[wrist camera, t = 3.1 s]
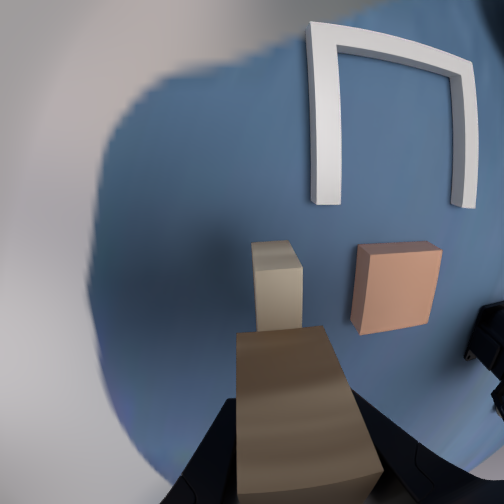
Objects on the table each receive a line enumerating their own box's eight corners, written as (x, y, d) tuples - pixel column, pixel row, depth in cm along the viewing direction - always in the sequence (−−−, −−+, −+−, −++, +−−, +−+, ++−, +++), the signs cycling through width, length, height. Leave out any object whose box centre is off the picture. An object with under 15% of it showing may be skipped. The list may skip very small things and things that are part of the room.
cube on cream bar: (232, 244, 12) (222, 435, 4) (306, 239, 12) (416, 404, 4) (245, 382, 15) (252, 544, 6) (302, 377, 15) (341, 532, 6)
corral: (460, 65, 15) (472, 62, 14) (463, 204, 19) (475, 208, 18) (305, 30, 15) (310, 21, 13) (310, 200, 19) (316, 204, 17)
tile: (424, 239, 20) (442, 250, 18) (412, 308, 22) (427, 323, 20) (356, 242, 20) (370, 254, 18) (348, 317, 22) (359, 335, 20)
